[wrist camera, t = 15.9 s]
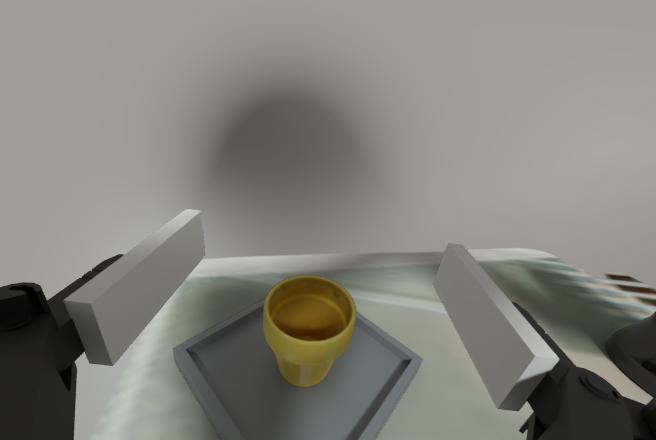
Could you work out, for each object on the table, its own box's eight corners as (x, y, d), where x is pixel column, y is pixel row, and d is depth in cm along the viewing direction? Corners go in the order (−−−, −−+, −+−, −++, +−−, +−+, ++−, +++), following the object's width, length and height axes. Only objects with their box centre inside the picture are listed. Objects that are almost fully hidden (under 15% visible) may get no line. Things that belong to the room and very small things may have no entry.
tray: (417, 371, 35) (423, 359, 34) (296, 567, 19) (299, 555, 18) (305, 286, 47) (306, 275, 46) (175, 362, 31) (172, 348, 30)
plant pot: (242, 363, 31) (242, 302, 27) (300, 316, 39) (307, 264, 35) (306, 428, 26) (318, 365, 22) (357, 359, 34) (373, 303, 30)
